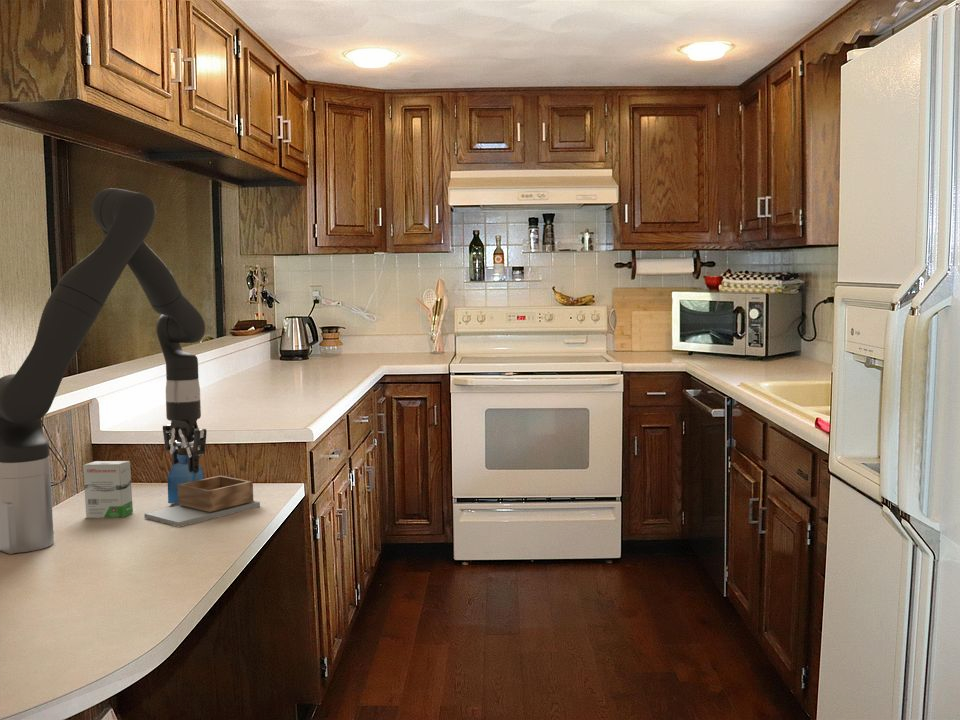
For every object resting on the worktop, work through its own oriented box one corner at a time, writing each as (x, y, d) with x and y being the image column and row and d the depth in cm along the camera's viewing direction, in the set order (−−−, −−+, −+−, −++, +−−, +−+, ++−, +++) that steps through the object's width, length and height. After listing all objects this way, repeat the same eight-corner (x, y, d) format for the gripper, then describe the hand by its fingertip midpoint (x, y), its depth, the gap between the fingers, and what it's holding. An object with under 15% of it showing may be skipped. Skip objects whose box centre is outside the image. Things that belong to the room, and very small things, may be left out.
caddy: (209, 511, 186) (208, 491, 186) (178, 504, 193) (177, 484, 193) (253, 501, 195) (252, 481, 195) (221, 494, 202) (220, 475, 202)
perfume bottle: (195, 503, 198) (193, 451, 197) (168, 503, 198) (166, 451, 197) (204, 496, 204) (202, 446, 203) (178, 496, 204) (176, 446, 203)
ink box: (134, 512, 192) (131, 459, 191) (122, 518, 187) (120, 464, 186) (96, 512, 193) (94, 459, 192) (84, 518, 188) (81, 464, 187)
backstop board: (178, 527, 180) (177, 503, 179) (144, 518, 187) (143, 495, 187) (259, 506, 196) (259, 484, 196) (225, 498, 204) (224, 477, 204)
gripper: (216, 399, 198) (218, 472, 199) (179, 395, 207) (181, 465, 208) (187, 402, 192) (190, 477, 193) (150, 398, 201) (153, 470, 202)
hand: (185, 470), depth 201 cm, fingers closed on perfume bottle, 5 cm apart
